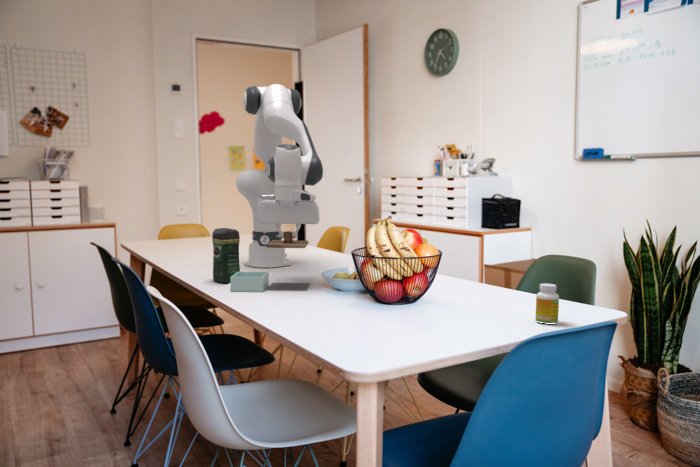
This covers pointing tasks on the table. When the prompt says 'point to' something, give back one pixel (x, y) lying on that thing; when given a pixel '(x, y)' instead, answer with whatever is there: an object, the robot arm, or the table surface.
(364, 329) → the table surface
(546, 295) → the supplement bottle
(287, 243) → the lid
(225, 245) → the coffee jar
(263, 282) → the mint green open box
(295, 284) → the mat
